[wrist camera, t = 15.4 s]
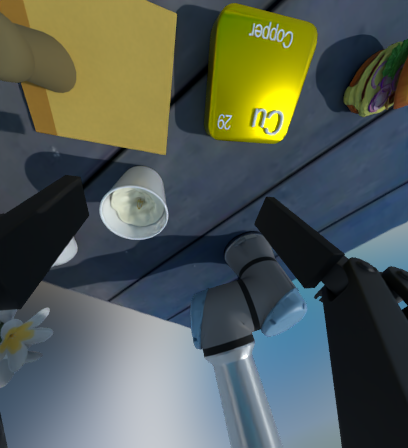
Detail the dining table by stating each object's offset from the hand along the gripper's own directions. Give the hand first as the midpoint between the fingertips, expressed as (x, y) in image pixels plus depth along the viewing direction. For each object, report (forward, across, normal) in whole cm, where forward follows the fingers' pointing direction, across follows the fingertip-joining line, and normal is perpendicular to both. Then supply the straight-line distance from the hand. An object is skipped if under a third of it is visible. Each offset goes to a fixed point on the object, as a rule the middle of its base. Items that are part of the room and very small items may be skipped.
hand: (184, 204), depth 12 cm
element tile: (+24, -12, -11) cm, 29 cm away
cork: (+23, +17, -8) cm, 30 cm away
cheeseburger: (+24, -36, -18) cm, 47 cm away
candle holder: (+24, +6, +8) cm, 26 cm away
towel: (+24, +11, -8) cm, 27 cm away
